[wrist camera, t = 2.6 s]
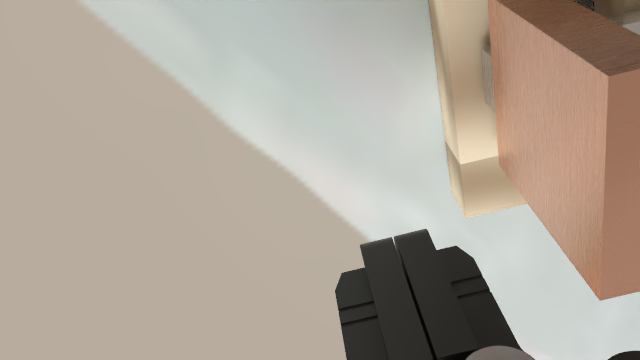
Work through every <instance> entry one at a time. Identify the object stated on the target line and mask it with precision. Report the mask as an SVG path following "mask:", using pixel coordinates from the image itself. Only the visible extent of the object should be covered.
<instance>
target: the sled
mask: <svg viewBox="0 0 640 360" xmlns="http://www.w3.org/2000/svg"><path fill="white" fill-rule="evenodd" d="M487 1H488V15H489V29H490V44H491V45H489V46H485V47H481V54H482V67H483V80H484V92H485V103H486V104H487V105H488V106H489V107H490V108H491V109H492V111H493V112H494V113H495V115H496V129H497V144H498V158H499V166H500V167H501V168H502V170H503V171H504V172H505V174H506V175H507V176H508V178H509V179H510V180H511V182H512V183H513V184H514V186H515V187H516V188H517V190H518V191H519V193H520V194H521V195H522V197H523V198H524V199H525V201H526V202H527V203H528V205H529V206H530V207H531V209H532V210H533V211H534V213H535V214H536V215H537V217H538V218H539V219H540V221H541V222H542V223H543V225H544V226H545V227H546V229H547V230H548V231H549V233H550V234H551V235H552V237H553V238H554V240H555V241H556V242H557V244H558V245H559V246H560V248H561V249H562V250H563V252H564V253H565V254H566V256H567V257H568V258H569V260H570V261H571V262H572V264H573V265H574V266H575V268H576V269H577V270H578V272H579V273H580V274H581V276H582V277H583V278H584V280H585V281H586V282H587V284H588V285H589V287H590V288H591V289H592V291H593V292H594V293H595V295H596V296H597V297H598V299H599V300H604V299H609V298H613V297H617V296H622V295H626V294H630V293H635V292H639V291H640V9H637V10H633V11H629V12H625V13H621V14H617V15H613V16H608V17H603V16H602V15H600V14H598V13H596V12H594V11H592V10H590V9H588V8H586V7H584V6H582V5H580V4H578V3H576V2H574V1H572V0H487Z"/></svg>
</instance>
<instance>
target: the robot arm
mask: <svg viewBox="0 0 640 360" xmlns="http://www.w3.org/2000/svg"><path fill="white" fill-rule="evenodd" d="M394 241H395V245H394V242H393V239H392V237H390V238H386V239H382V240H378V241H374V242H369V243H365V244H361V245H360V248H361V252H362V256H363V260H364V265H365V268H361V269H357V270H352V271H348V272H344V273H342V274H341V277H340V279H339V282H338V285H337V287H336V290H335V293H336V299H337V305H338V310H339V317H340V322H341V328H342V334H343V340H344V345H345V352H346V358H347V360H535V359H534V358H532V357H531V356H530V355H528V354H527V353H525V352H524V351H523V350H522V349H521V348H520V346H519V344H518V343H517V341H516V339H515V337H514V335H513V333H512V331H511V329H510V327H509V326H508V324H507V322H506V320H505V318H504V316H503V314H502V312H501V310H500V308H499V306H498V304H497V302H496V301H495V299H494V297H493V295H492V293H491V292H490V290H489V287H488V285H487V283H486V281H485V279H484V278H483V277H482V274H481V272H480V270H479V268H478V266H477V264H476V262H475V260H474V258H473V257H471V256H470V255H468V254H467V253H466V252H464V251H463V250H461V249H460V248H459V247H457V246H453V247H449V248H444V249H440V250H436V248H435V246H434V244H433V242H432V239H431V237H430V235H429V233H428V231H427V229H423V230H419V231H415V232H411V233H406V234H402V235H398V236H394ZM395 247H396V248H395ZM608 360H640V351H628V352H623V353H619V354H617V355H614V356H612V357H611V358H609V359H608Z"/></svg>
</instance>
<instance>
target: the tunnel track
mask: <svg viewBox="0 0 640 360" xmlns="http://www.w3.org/2000/svg"><path fill="white" fill-rule="evenodd" d="M428 2H429V10H430V19H431V27H432V35H433V43H434V51H435V60H436V68H437V76H438V84H439V93H440V101H441V109H442V117H443V125H444V134H445V142H446V150H447V158H448V167H449V175H450V183H451V191H452V194H453V195H454V197H455V199H456V201H457V203H458V204H459V206H460V208H461V210H462V212H463V213H464V215H465V217H466V218H469V217H473V216H477V215H482V214H486V213H490V212H494V211H499V210H503V209H507V208H511V207H515V206H520V205H524V204H528V203H527V202H526V201H525V199H524V198H523V197H522V195H521V194H520V193H519V191H518V190H517V188H516V187H515V186H514V184H513V183H512V182H511V180H510V179H509V178H508V176H507V175H506V174H505V172H504V171H503V170H502V168H501V167H500V166H499V158H498V144H497V129H496V115H495V113H494V112H493V111H492V109H491V108H490V107H489V106H488V105H487V104H486V103H485V92H484V80H483V67H482V54H481V47H485V46H489V45H491V44H490V29H489V15H488V1H487V0H428ZM637 9H640V0H594V12H596V13H598V14H600V15H602V16H603V17H608V16H613V15H617V14H621V13H625V12H629V11H633V10H637Z"/></svg>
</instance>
